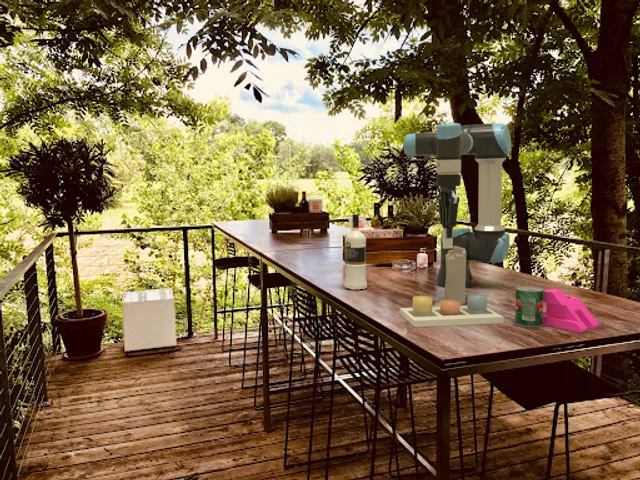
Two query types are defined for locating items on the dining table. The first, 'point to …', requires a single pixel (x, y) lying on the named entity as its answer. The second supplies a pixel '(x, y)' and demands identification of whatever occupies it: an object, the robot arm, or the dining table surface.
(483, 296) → the slate-blue button
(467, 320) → the panel
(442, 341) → the dining table surface
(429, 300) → the ochre button
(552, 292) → the bracket
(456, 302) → the terracotta button
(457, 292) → the beige tall tapered piece
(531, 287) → the canned tomato
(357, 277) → the vodka
